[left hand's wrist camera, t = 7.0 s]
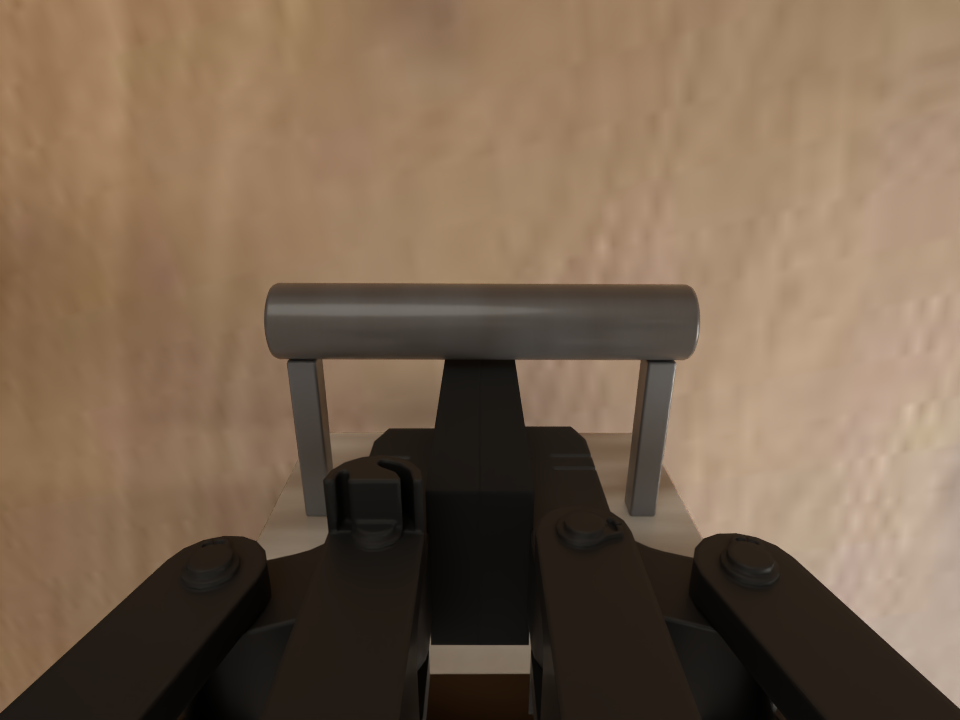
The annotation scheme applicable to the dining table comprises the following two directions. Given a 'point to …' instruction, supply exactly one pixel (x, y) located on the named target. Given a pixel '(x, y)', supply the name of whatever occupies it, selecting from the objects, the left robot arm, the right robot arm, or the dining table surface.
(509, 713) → the drawer
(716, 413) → the dining table surface
